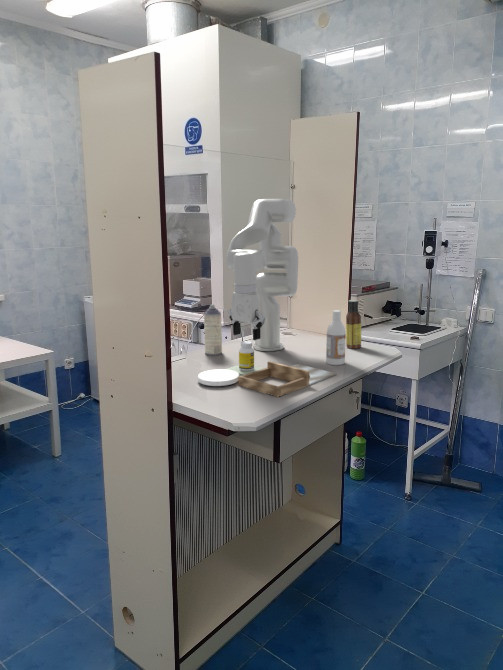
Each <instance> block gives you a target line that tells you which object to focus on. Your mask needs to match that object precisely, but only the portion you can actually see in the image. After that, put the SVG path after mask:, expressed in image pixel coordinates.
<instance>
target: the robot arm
mask: <svg viewBox="0 0 503 670" xmlns="http://www.w3.org/2000/svg"><path fill="white" fill-rule="evenodd" d="M296 207H297V206H296V204H295V202H294V201H293V200H291V199H286V198H262V199H257V200H255V201H254V202H253V203H252V206H251V210H250V213H249V217H248V220H247V221H248V222H247V225H246V227H245V228H243V229H241V231H239V232H238V233H236V235H235V236H233V237H232V239H231V241H230V242H229V244H228V245H229V246H228V249H227V253H226V258H225V260H226V261H225V264H226V267H228V269H229V270H231V271H233V277H234V279H233V280H234V283H233V288H234V291H233V293H232V296H231V297H232V298H231V308H230V309H228V310H227V314H228V316H229V319H230V321H231V324H232V332H233V333H232V334H233V336H238V335H241V331H242V330H241V329H242V328H241V323H244V324H251V325H252V327H253V328H252V337H251V341H253V342H255V343H254V344H253V345H252V348H253V349H254V350H256V351H260V352H277V351H280V350H283V349H284V344H283V343H282V342H281V326H280V325H281V319H280V318H281V315H280V313H281V310H280V309H281V308H280V304H279V302H278V300H277V299H276V298H275V297H293V296H295V295H296V293H297V290H298V281H299V280H298V277H299V252H298V250H297V248H296V247H295V246H293V245H292V246H291V245H282V244H281V243H282V240H281V239H282V234H281V231H280V230H279V228H278V227H277V226H276V224H275V223H291V222H293V221H294V220H295V218H296V215H297V214H296V213H297V211H296V210H297V209H296ZM254 244H259V249H247V247H249V246H251V245H254ZM245 248H246V249H245ZM264 269H265V270H284V271H286V272H275V271H273V272H272V271H269V272H267V271H265V272H264V271H263V272H261V271H262V270H264ZM257 272H260V273H258V274H257Z"/></svg>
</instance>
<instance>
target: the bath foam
mask: <svg viewBox="0 0 503 670" xmlns="http://www.w3.org/2000/svg"><path fill="white" fill-rule="evenodd" d="M341 319H342V311H341V310H338V309H335V310H332V320H331V322H330V324H329V325H328V327H327V330H326V349H325V350H326V351H325V353H326V354H325V362H326V364H328V365H330V366H342V365H344V364H345V361H346V327H345V325H344V324H343V322H342V321H341Z"/></svg>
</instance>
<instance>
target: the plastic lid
mask: <svg viewBox="0 0 503 670" xmlns="http://www.w3.org/2000/svg"><path fill="white" fill-rule="evenodd" d="M197 381H198V383H199V384H202V385H204V386H209V387H210V386H211V387H221V386H222V387H223V386H225V387H226V386H229V385H233V384H236V383H237V382H239V373H238V372H235V371H233V370H227V368H225V369H222V368H219V369H217V368H216V369H209V370H204V371H201V372H199V373H198V375H197Z"/></svg>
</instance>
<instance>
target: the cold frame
mask: <svg viewBox="0 0 503 670" xmlns="http://www.w3.org/2000/svg"><path fill="white" fill-rule="evenodd" d="M266 366H267V367H263V368H264V369H261V370H258V371H255V372H252V373H249V374H245V375H242V376H239V381H238V386H241V387H243V388H246V389H250V390H253V391H256V392H260V393H262V392H263V394H266V393H268V394H267V395H269V394H272V395H275V396H274V397H276V396H277V397H276V398H280V397H279V396H281V397H282V395H283V396H285V395H284V394H286V395H288V394H290V392H291V393H293V392H295V391H298V390H301V389H304V388H307V387H308V386H310V385H311V386H312V385H313V384H317V383H319V382H321V381H324V380H326V379H329V378H332V377H334V375H335V376H337V373H336V372H332V371H328V370H324V369H321V368H315V367H312V366H308V365H304V364H300V363H297V364H292V365H286V364H282V363H280V362H279V363H278V362H274V361H270V360H269V361H267V365H266ZM331 376H332V377H331ZM269 377H271V378H274V379H278V380H282V381H286V382H287V383H284V384H280V385H274V384H272V383H268V382H263V381H261V380H263V379H266V378H267V379H268V378H269ZM287 393H288V394H287ZM272 395H271V396H272Z"/></svg>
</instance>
